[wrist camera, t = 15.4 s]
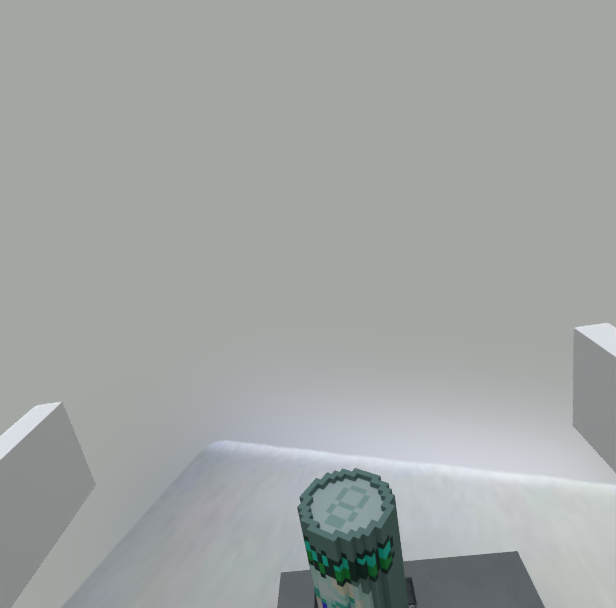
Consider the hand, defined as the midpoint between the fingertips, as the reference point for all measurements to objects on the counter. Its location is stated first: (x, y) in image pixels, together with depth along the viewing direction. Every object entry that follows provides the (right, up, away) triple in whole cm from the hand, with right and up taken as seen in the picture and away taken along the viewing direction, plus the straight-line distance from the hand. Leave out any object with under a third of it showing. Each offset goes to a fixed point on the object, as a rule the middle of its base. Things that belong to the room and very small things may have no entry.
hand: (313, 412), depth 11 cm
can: (+5, -24, +22) cm, 33 cm away
